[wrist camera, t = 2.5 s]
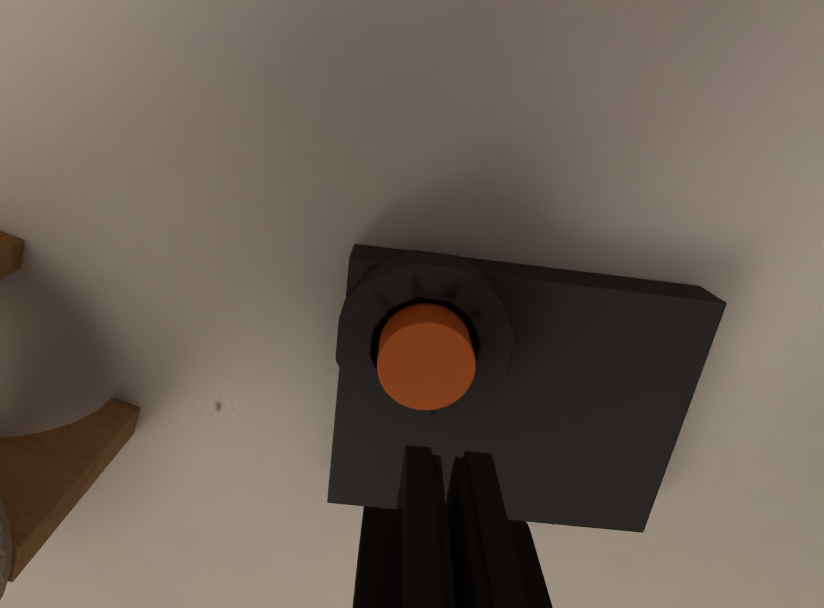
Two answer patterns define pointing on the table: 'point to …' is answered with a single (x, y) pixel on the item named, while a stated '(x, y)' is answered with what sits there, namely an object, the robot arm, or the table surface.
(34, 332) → the table surface
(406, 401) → the button
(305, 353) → the table surface
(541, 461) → the black flat block
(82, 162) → the table surface
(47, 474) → the planter
